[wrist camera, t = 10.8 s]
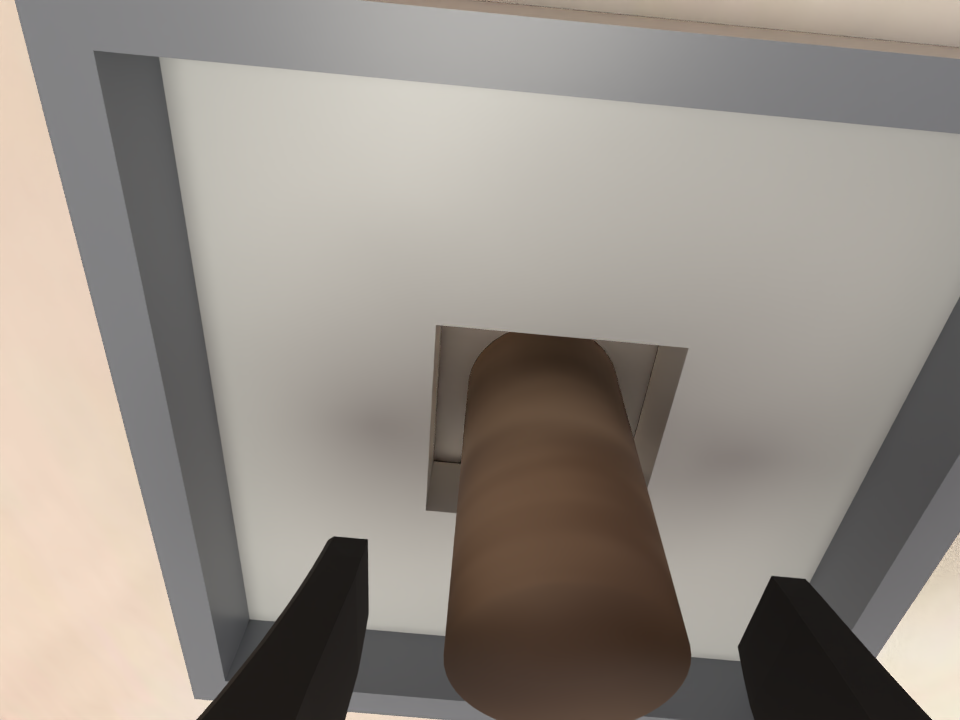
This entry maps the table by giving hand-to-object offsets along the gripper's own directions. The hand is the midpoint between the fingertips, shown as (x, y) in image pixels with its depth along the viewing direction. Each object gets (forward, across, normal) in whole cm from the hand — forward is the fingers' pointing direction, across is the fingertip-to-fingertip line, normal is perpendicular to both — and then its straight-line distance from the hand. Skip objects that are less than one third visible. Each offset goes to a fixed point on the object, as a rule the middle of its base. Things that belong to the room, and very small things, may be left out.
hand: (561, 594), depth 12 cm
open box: (+7, 0, 0) cm, 7 cm away
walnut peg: (+7, 0, 0) cm, 7 cm away
